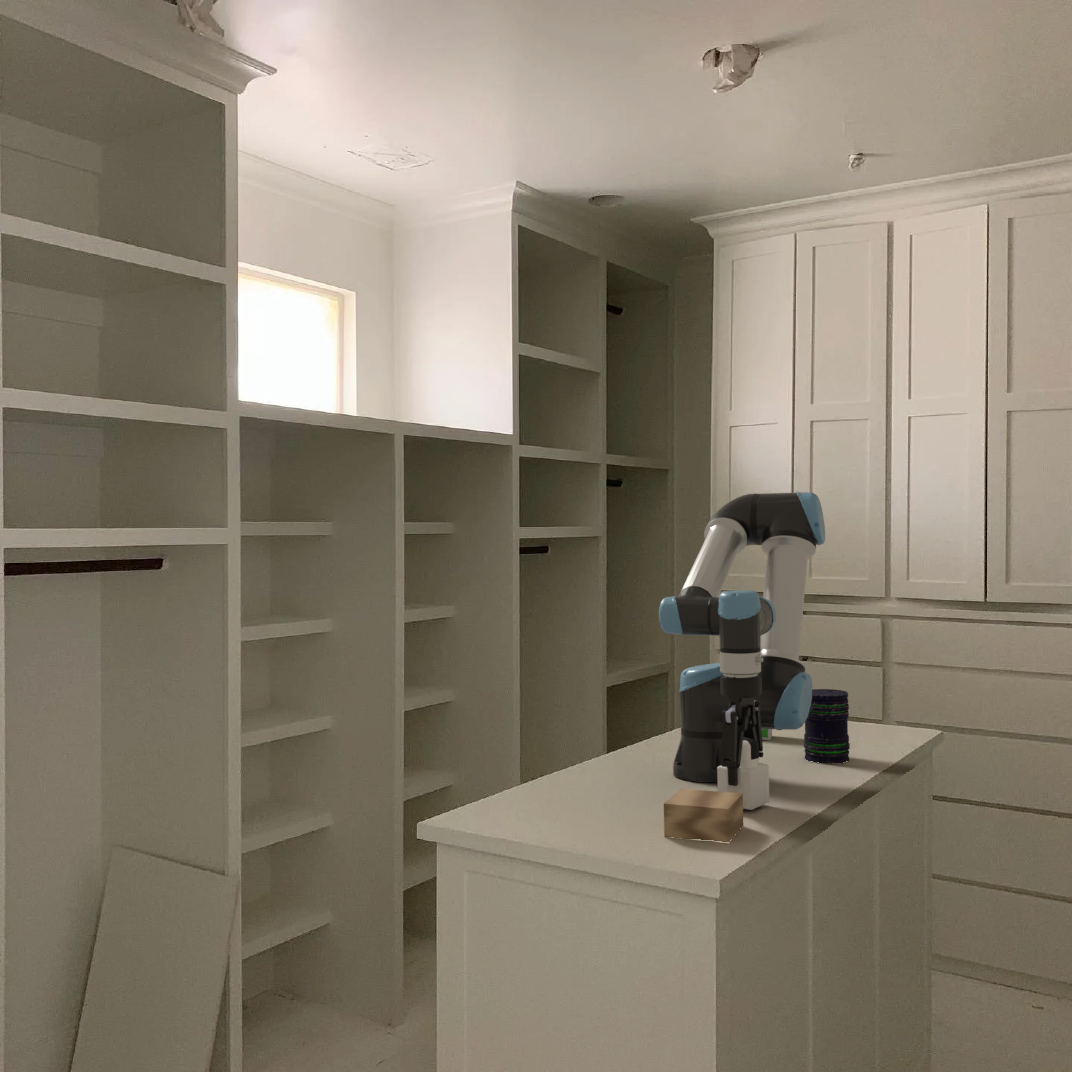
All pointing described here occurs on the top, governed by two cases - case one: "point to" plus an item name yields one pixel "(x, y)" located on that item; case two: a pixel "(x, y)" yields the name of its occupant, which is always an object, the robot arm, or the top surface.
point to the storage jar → (827, 727)
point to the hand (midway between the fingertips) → (743, 797)
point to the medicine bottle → (749, 776)
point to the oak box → (703, 815)
